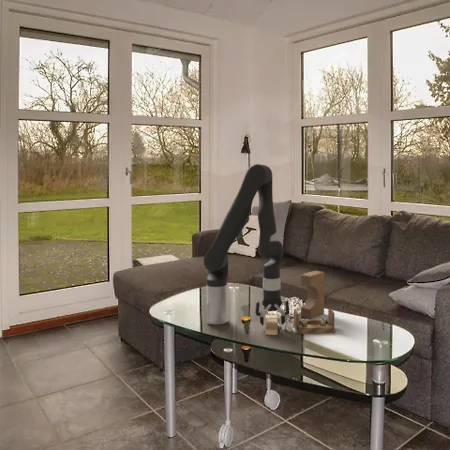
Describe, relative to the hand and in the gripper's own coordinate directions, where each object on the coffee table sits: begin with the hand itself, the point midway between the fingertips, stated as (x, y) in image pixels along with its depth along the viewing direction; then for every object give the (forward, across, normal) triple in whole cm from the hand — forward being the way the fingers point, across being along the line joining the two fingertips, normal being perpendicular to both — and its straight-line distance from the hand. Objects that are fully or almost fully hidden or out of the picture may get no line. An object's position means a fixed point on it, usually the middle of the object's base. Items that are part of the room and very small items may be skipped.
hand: (272, 324), depth 219 cm
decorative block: (+3, +21, +16) cm, 26 cm away
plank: (+2, -1, 0) cm, 2 cm away
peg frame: (+2, +17, -2) cm, 18 cm away
